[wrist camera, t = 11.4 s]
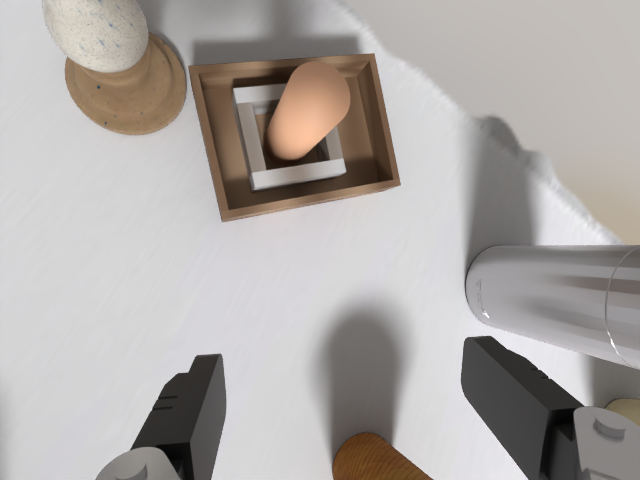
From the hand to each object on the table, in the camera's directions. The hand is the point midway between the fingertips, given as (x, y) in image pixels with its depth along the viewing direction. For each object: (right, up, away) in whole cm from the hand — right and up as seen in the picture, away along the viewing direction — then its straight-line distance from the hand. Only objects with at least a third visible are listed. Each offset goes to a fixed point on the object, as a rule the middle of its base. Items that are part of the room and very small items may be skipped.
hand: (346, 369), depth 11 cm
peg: (-4, +13, +20) cm, 24 cm away
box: (-3, +13, +21) cm, 25 cm away
